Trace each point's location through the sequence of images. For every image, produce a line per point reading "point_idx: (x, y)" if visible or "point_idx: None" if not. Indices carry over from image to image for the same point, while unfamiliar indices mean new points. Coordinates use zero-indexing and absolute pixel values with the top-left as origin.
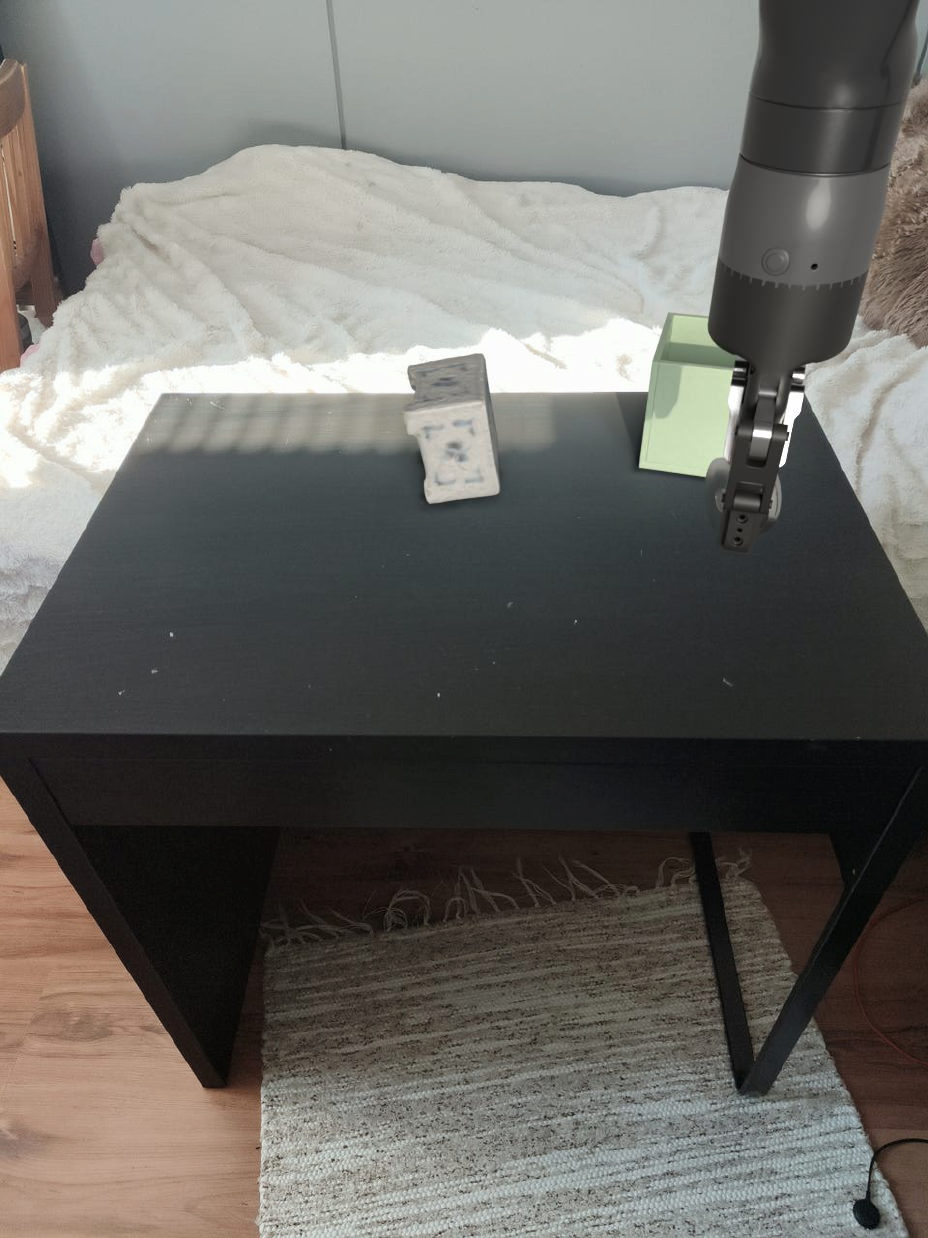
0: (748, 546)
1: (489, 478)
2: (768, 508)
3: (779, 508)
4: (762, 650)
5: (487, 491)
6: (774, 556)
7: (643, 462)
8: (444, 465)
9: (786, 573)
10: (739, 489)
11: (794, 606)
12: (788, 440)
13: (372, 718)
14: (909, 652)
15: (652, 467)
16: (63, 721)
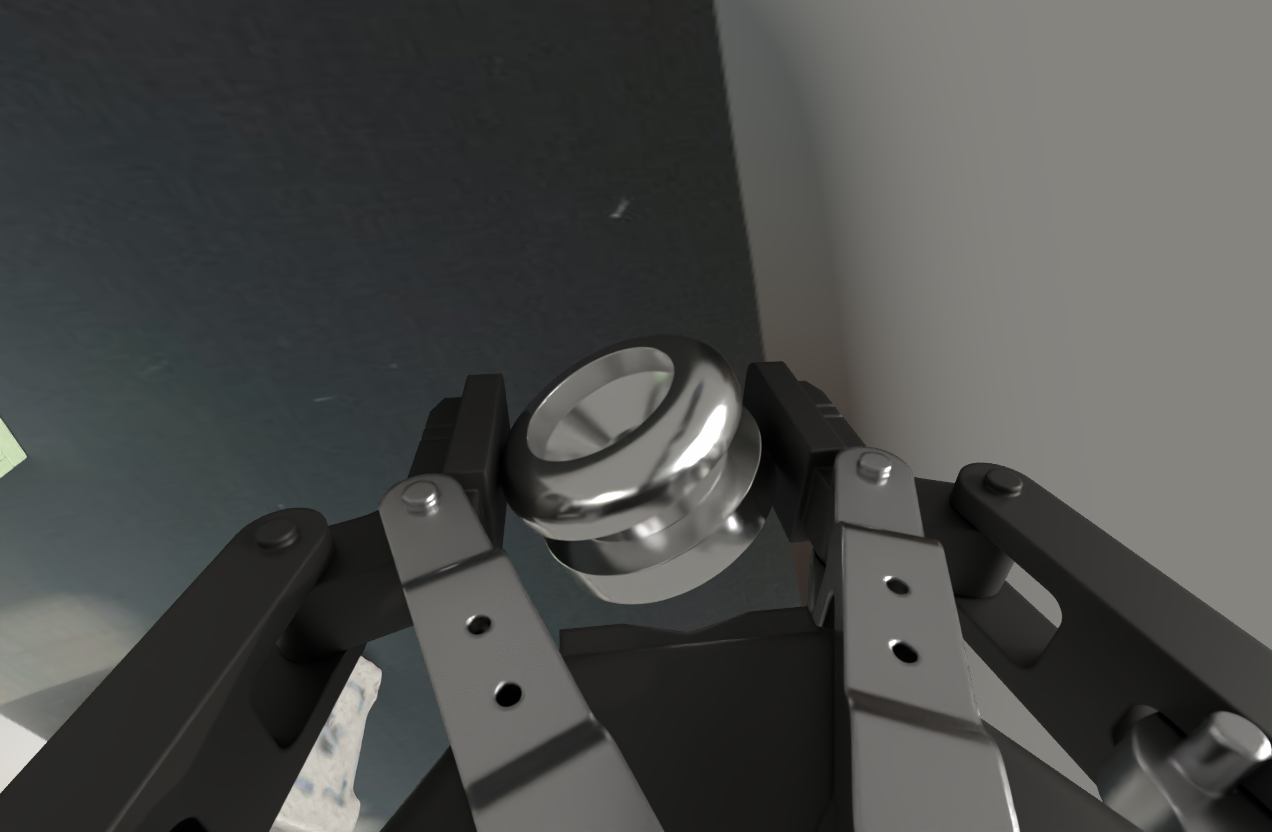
0: (822, 393)
1: None
2: (1039, 487)
3: (722, 365)
4: (512, 149)
5: None
6: (164, 139)
7: (11, 458)
8: (347, 718)
9: (217, 106)
10: (979, 589)
11: (336, 83)
12: (958, 624)
13: (779, 580)
14: None
15: (8, 436)
16: None
